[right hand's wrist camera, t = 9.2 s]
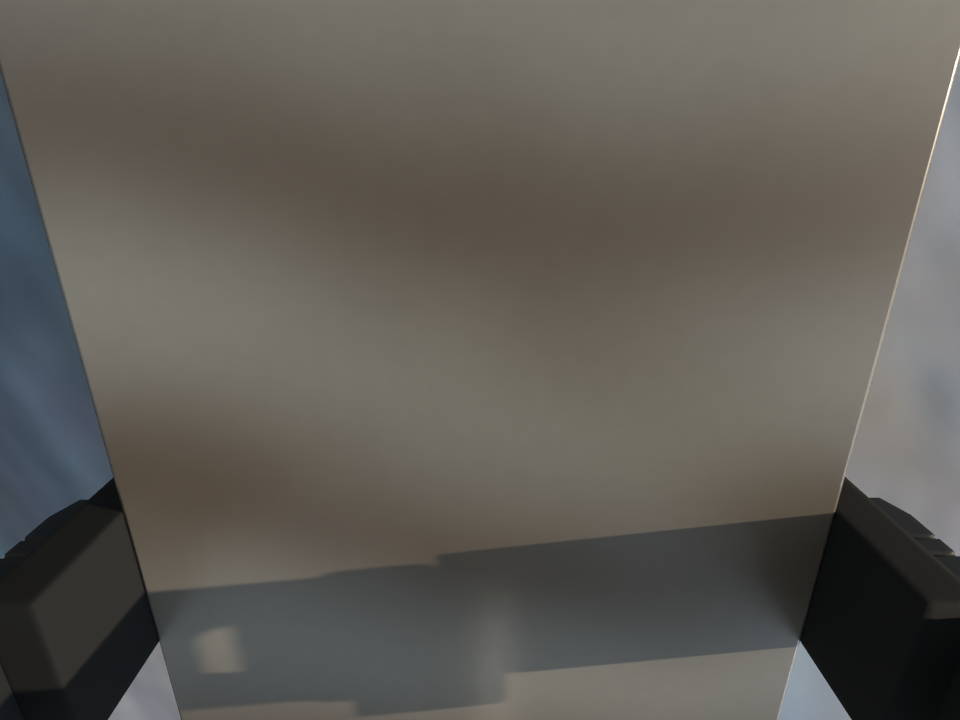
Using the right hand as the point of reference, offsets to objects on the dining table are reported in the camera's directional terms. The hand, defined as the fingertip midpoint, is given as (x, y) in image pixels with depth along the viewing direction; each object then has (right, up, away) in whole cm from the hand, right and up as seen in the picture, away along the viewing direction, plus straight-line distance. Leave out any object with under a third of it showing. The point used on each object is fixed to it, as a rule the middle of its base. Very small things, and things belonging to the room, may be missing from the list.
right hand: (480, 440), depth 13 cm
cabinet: (0, +7, +1) cm, 7 cm away
